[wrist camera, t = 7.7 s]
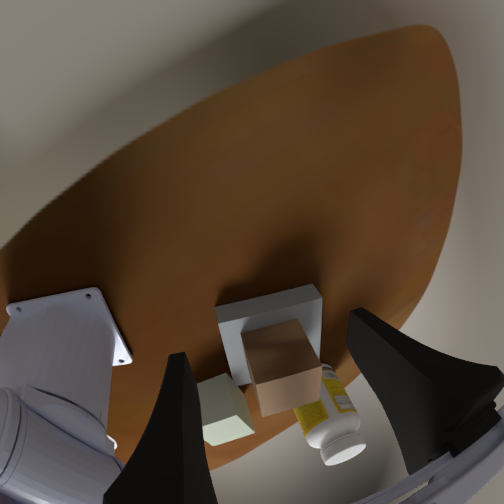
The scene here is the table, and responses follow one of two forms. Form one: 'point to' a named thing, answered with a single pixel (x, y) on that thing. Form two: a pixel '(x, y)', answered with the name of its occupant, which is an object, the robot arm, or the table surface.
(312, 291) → the slate slab
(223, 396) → the sage block
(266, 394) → the walnut block
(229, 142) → the table surface
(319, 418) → the supplement bottle
